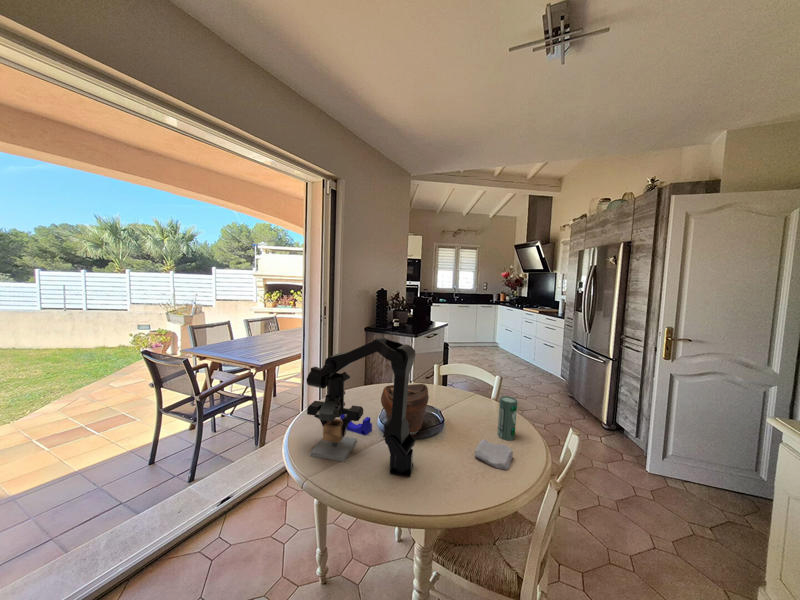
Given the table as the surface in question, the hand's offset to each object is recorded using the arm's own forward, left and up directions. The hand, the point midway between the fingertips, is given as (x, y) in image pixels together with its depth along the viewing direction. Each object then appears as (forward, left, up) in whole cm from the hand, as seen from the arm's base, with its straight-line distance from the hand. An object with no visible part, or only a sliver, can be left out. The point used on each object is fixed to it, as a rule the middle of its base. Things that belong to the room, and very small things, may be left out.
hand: (334, 434), depth 105 cm
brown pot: (-21, -20, -6) cm, 29 cm away
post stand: (0, 0, -6) cm, 6 cm away
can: (-61, -25, -6) cm, 66 cm away
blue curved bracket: (-3, -15, -6) cm, 16 cm away
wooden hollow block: (0, 0, -1) cm, 1 cm away
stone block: (-54, -8, -6) cm, 55 cm away
